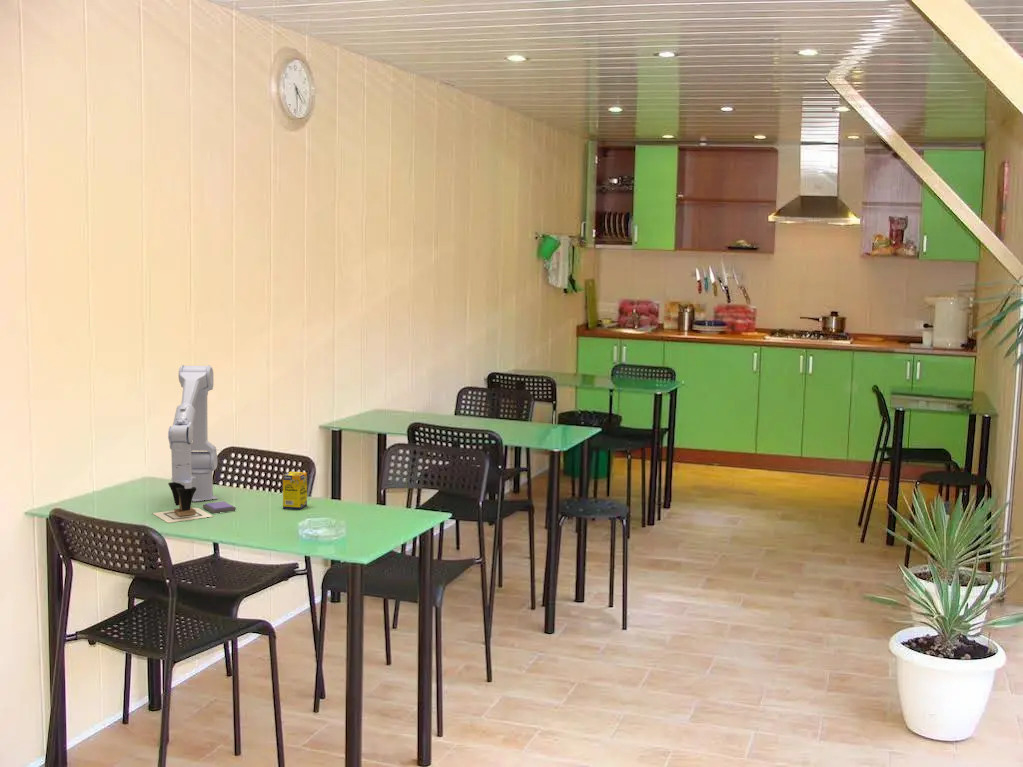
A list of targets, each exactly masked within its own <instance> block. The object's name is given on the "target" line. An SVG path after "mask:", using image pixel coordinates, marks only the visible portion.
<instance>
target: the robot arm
mask: <svg viewBox="0 0 1023 767" xmlns="http://www.w3.org/2000/svg"><path fill="white" fill-rule="evenodd" d="M178 381H179V384H180V387H181V388H182V397H181V403H180V404H179V405H178V406H176V408H175V409H176V410H175V413H174V418H173V421H172V422H173V423H172V425H171V426H169V428H168V433H167V435H168V436H167V437H168V438H167V439H168V442H169V449H170V452H171V453H170V454H171V480H170V481H171V482H168V486H169V488H170V490H171V493H172V496H173V502H174V504H175V506H179V497H180V501H181V507H182V510H183V511H185V510H190V507H191V506H192V502H194V503H195V502H196V501H197V502H205V501H211V500H212V499H213V500H217V499H218V497H217V496H215V495H214V490H213V489H214V488H213V487H214V486H213V484H214V482H213V481H214V480H213V477H214V476H213V472H214V471H215V470H216V469H217V467H218V454H217V452H218V451H217V447H216V446H215V445H214V444H212V443H211V442H210V441H208V440H209V439H208V438H209V437H208V395H209V392H210V391H213V390H214V370H213V367H212V366H211V365H184V364H183V365H181V366H180V367H179V368H178ZM204 500H205V501H204ZM191 508H192V507H191Z"/></svg>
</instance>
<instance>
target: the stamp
mask: <svg viewBox="0 0 1023 767" xmlns="http://www.w3.org/2000/svg"><path fill="white" fill-rule="evenodd" d="M178 506H179V508H174V513H175V514H176V515H178V516H179V517H183V516H191V515H195V514H196V510H194V509H193V508H194V507H190V510H185V511H183V510H182V507H181V501H180V497H179V505H178Z"/></svg>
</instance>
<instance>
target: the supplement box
mask: <svg viewBox="0 0 1023 767" xmlns="http://www.w3.org/2000/svg"><path fill="white" fill-rule="evenodd" d="M305 507H308V473H307V472H305V471H304V472H302V471H289V472H287V473H285V474H282V509H283V510H294V511H295V510H297V511H301V510H302V509H303V508H305Z"/></svg>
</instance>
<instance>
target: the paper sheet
mask: <svg viewBox="0 0 1023 767" xmlns="http://www.w3.org/2000/svg"><path fill="white" fill-rule="evenodd" d="M192 508H193V509H194V510H196V514H195V515H191V516H183V517H179V516H178V515H176V514H175V513H174V510H168V511H160V512H152V515H154V516H156V517H157V518H159V519H160V520H162V521H163V522H165V523H168V524H172V523H179V522H186V520H187V521H192V520H193V519H194V520H200V519H199V518H202V519H208V518H207V517H209V518H213V517H214V515H212V514H210V513H209V512H207V511H204V510H203V509H201V508H198V507H192Z"/></svg>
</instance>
